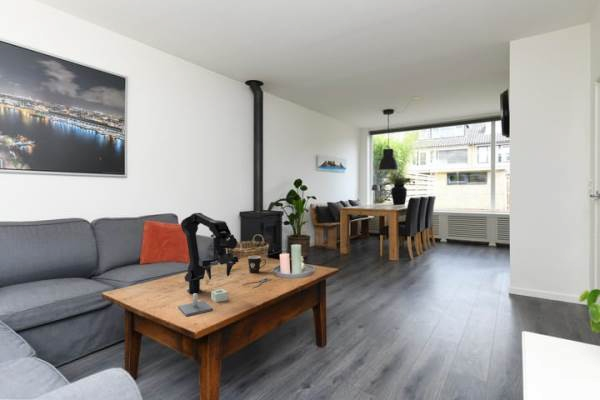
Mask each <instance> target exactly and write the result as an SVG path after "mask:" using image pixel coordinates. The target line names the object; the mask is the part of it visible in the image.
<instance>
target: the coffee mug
mask: <svg viewBox="0 0 600 400" xmlns="http://www.w3.org/2000/svg"><path fill="white" fill-rule="evenodd" d="M247 261H248V270H249V274H258V273H260V269H262V268H263V267H265V265H266V263H267V260H266V259H262V258H261V256H259V255H251V256H248V257H247ZM262 261H264V264H263V265H262V266H261V262H262Z"/></svg>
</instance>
